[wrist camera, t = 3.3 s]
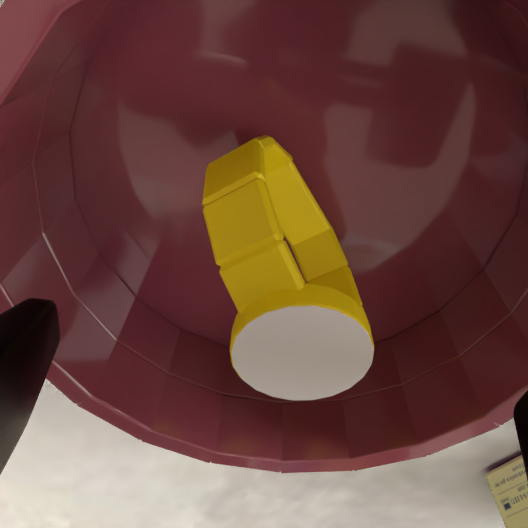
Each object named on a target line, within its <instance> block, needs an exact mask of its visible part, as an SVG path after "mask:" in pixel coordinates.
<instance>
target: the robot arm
mask: <svg viewBox="0 0 528 528" xmlns="http://www.w3.org/2000/svg"><path fill="white" fill-rule="evenodd" d="M59 341H60V327H59V319H58V312H57V306H56V304H55V302H54V301H52V300H46V299H40V298H28V299H26V300H24V301H22V302H20V303H19V304H17V305H15V306H13V307H12V308H10V309H8V310H6V311H5V312H3V313H1V314H0V474H1V473H2V471H3V469H4V467H5V465H6V463H7V461H8V459H9V458H10V456H11V454H12V452H13V450H14V448H15V446H16V444H17V443H18V441H19V439H20V437H21V435H22V433H23V431H24V429H25V427H26V425H27V423H28V420H29V418H30V416H31V413H32V411H33V408H34V406H35V403H36V401H37V398H38V396H39V393H40V391H41V388H42V386H43V383H44V381H45V378H46V376H47V373H48V371H49V368H50V366H51V363H52V361H53V358H54V356H55V353H56V350H57V348H58V345H59ZM514 421H515V425H516V430H517V435H518V439H519V444H520V449H521V453H522V458H523V462H524V467H525V472H526V476H527V481H528V390H527V391H526V392H525V393H524V395H523V396H522V397H521V398H520V399H519V401H518V402H517V403H516V404H515V407H514Z"/></svg>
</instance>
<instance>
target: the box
mask: <svg viewBox="0 0 528 528" xmlns="http://www.w3.org/2000/svg"><path fill="white" fill-rule="evenodd" d="M485 476H486V478H487V481H488V484H489V486H490V488H491V491H492V493H493V496H494V498H495V501H496V504H497V506H498V509H499V511H500V514H501V516H502V519H503V521H504V524H505V527H506V528H528V481H527V476H526V472H525V467H524V462H523V458H522V455H520V456H518V457H516V458H514V459H512V460H510V461H509V462H507V463H505V464H503V465H501V466H499V467H497V468H495V469H493V470H491V471H489V472H487V473H486V474H485Z"/></svg>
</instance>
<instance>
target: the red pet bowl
mask: <svg viewBox="0 0 528 528" xmlns="http://www.w3.org/2000/svg"><path fill="white" fill-rule="evenodd" d="M263 135H267V136H270V137H272V138H273V139H274V140H275V141H276V142H277V143H278V144H279V145H280V146H281V147H282V148H283V149H285V150H286V151H287V152H288V153H289V154H290V155H291V156H292V158H293V160H292V161H293V163H294V164H295V166H296V168H297V169H298V171H299V173H300V175H301V176H302V178H303V180H304V181H305V183H306V185H307V186H308V188H309V190H310V191H311V193H312V195H313V196H314V198H315V200H316V201H317V203H318V205H319V206H320V208H321V210H322V211H323V213H324V215H325V216H326V218H327V220H328V222H329V223H330V225H331V227H332V228H333V230H334V232H335V234H336V237H337V239H338V241H339V243H340V246H341V248H342V250H343V253H344V255H345V257H346V260H347V262H348V267H349V268H350V269H351V272H352V275H353V278H354V281H355V284H356V287H357V290H358V293H359V296H360V299H361V302H362V307H363V309H364V312H365V314H366V316H367V319H368V322H369V325H370V329H371V333H372V338H373V342H374V354H373V361H372V365H371V366H370V368H369V369H368V371H367V372H366V374H365V376H364V377H363V378H362V379H361V380H360V381H358V382H357V383H356V384H354V385H353V386H352V387H351V388H349V389H347V390H345V391H343V392H340V393H338V394H336V395H334V396H330V397H326V398H321V399H316V400H287V399H281V398H276V397H272V396H269V395H267V394H265V393H262V392H260V391H257V390H255V389H254V388H253V387H251V386H250V385H249V384H247V383H246V382H245V381H243V380H242V379H241V378H240V377H239V375H238V374H237V372H236V371H235V369H234V368H233V366H232V362H231V356H230V341H231V332H232V327H233V324H234V321H235V318H236V315H237V314H238V310H237V308H236V306H235V304H234V302H233V300H232V298H231V296H230V294H229V292H228V290H227V288H226V286H225V283H224V281H223V279H222V277H221V275H220V273H219V271H220V268H221V266H219V265H217V264H216V262H215V258H214V254H213V250H212V246H211V242H210V238H209V234H208V230H207V226H206V222H205V218H204V214H203V208H204V206H203V205H202V201H203V192H204V183H205V174H206V168H207V167H208V164H210V163H212V162H213V161H215V160H217V159H219V158H220V157H222V156H224V155H226V154H228V153H229V152H231V151H233V150H235V149H236V148H238V147H240V146H242V145H243V144H245V143H247V142H249V141H251V140H252V139H254V138H257V137H260V136H263ZM283 236H284V235H283ZM283 240H284V241H286V243H287V245H288V247H289V250H290V252H291V254H292V256H293V258H294V260H295V262H296V264H297V266H298V269H299V271H300V273H301V275H302V277H303V279H304V281H305V278H304V276H303V274H302V271H301V269H300V266H299V264H298V262H297V259H296V257H295V255H294V252H293V250H292V248H291V245H290V243H289V242H288V241H287V239H286V238H285V236H284V238H283ZM305 283H308V282H306V281H305ZM28 298H40V299H46V300H52V301H54V302H55V304H56V306H57V312H58V319H59V327H60V341H59V345H58V348H57V350H56V353H55V356H54V358H53V361H52V363H51V366H50V368H49V371H48V373H47V376H46V379H47V380H48V381H50V382H51V383H52V384H53V385H54V386H55V387H56V388H57V389H59V390H60V391H61V392H62V393H63V394H64V395H65V396H67V397H68V398H69V399H70V400H71V401H72V402H73V403H75V404H77V405H78V406H79V407H81V408H83V409H84V410H86V411H88V412H90V413H92V414H93V415H95V416H97V417H99V418H101V419H103V420H104V421H106V422H108V423H110V424H112V425H113V426H115V427H117V428H119V429H121V430H123V431H124V432H126V433H128V434H130V435H132V436H133V437H135V438H137V439H139V440H142V442H145V443H149V444H152V445H155V446H158V447H161V448H164V449H167V450H170V451H173V452H176V453H180V454H183V455H186V456H189V457H192V458H195V459H198V460H201V461H204V462H207V463H210V462H211V463H215V464H222V465H229V466H236V467H244V468H251V469H258V470H265V471H273V472H281V473H299V472H331V471H353V470H354V471H356V470H361V469H366V468H371V467H376V466H380V465H385V464H390V463H395V462H400V461H405V460H410V459H415V458H420V457H425V456H427V455H431V454H433V453H435V452H438V451H440V450H443V449H445V448H448V447H450V446H453V445H455V444H458V443H460V442H463V441H465V440H468V439H470V438H473V437H475V436H478V435H480V434H483V433H485V432H488V431H490V430H493V429H495V428H498V427H499V425H503V424H504V423H506V422H507V421H509V420H510V419H512V418H513V417H514V407H515V404H516V403H517V402H518V401H519V399H520V398H521V397H522V396H523V395H524V393H525V392H526V391H527V390H528V0H4V2H3V4H2V5H1V7H0V314H1V313H3V312H5V311H6V310H8V309H10V308H12V307H13V306H15V305H17V304H19V303H20V302H22V301H24V300H26V299H28Z"/></svg>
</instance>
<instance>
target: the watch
mask: <svg viewBox="0 0 528 528" xmlns="http://www.w3.org/2000/svg"><path fill="white" fill-rule="evenodd" d="M292 160H293V158H292V156H291V155H290V154H289V153H288V152H287V151H286V150H285V149H283V148H282V147H281V146H280V145H279V144H278V143H277V142H276V141H275V140H274V139H273V138H272V137H270V136H267V135H263V136H260V137H257V138H254V139H252V140H251V141H249V142H247V143H245V144H243V145H242V146H240V147H238V148H236V149H235V150H233V151H231V152H229V153H228V154H226V155H224V156H222V157H220V158H219V159H217V160H215V161H213V162H212V163H210V164H208V167H207V168H206V174H205V183H204V192H203V201H202V205H203V206H204V208H203V214H204V218H205V222H206V226H207V230H208V234H209V238H210V242H211V246H212V250H213V254H214V258H215V262H216V264H217V265H219V266H221V268H220V271H219V273H220V275H221V277H222V279H223V281H224V283H225V286H226V288H227V290H228V292H229V294H230V296H231V298H232V300H233V302H234V304H235V306H236V308H237V310H238V314H237V315H236V318H235V321H234V324H233V327H232V332H231V341H230V356H231V362H232V366H233V368H234V369H235V371H236V372H237V374H238V375H239V377H240V378H241V379H242V380H243V381H245V382H246V383H247V384H249V385H250V386H251V387H253V388H254V389H255V390H257V391H260V392H262V393H265V394H267V395H269V396H272V397H276V398H281V399H287V400H316V399H321V398H326V397H330V396H334V395H336V394H338V393H340V392H343V391H345V390H347V389H349V388H351V387H352V386H353V385H354V384H356V383H357V382H358V381H360V380H361V379H362V378H363V377H364V376H365V374H366V372H367V371H368V369H369V368H370V366H371V365H372V361H373V354H374V342H373V338H372V333H371V329H370V325H369V322H368V319H367V316H366V314H365V312H364V309H363V307H362V302H361V299H360V296H359V293H358V290H357V287H356V284H355V281H354V278H353V275H352V272H351V269H350V268H349V267H348V262H347V260H346V257H345V255H344V253H343V250H342V248H341V246H340V243H339V241H338V239H337V237H336V234H335V232H334V230H333V228H332V227H331V225H330V223H329V222H328V220H327V218H326V216H325V215H324V213H323V211H322V210H321V208H320V206H319V205H318V203H317V201H316V200H315V198H314V196H313V195H312V193H311V191H310V190H309V188H308V186H307V185H306V183H305V181H304V180H303V178H302V176H301V175H300V173H299V171H298V169H297V168H296V166H295V164H294V163H293V161H292ZM283 235H284V236H285V238H286V239H287V241H288V242H289V243H290V245H291V248H292V250H293V252H294V255H295V257H296V259H297V262H298V264H299V266H300V269H301V271H302V274H303V276H304V278H305V281H306V282H308V283H305V281H304V279H303V277H302V275H301V273H300V271H299V269H298V266H297V264H296V262H295V260H294V258H293V256H292V254H291V252H290V250H289V247H288V245H287V243H286V241H284V240H283V238H284V236H283Z"/></svg>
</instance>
